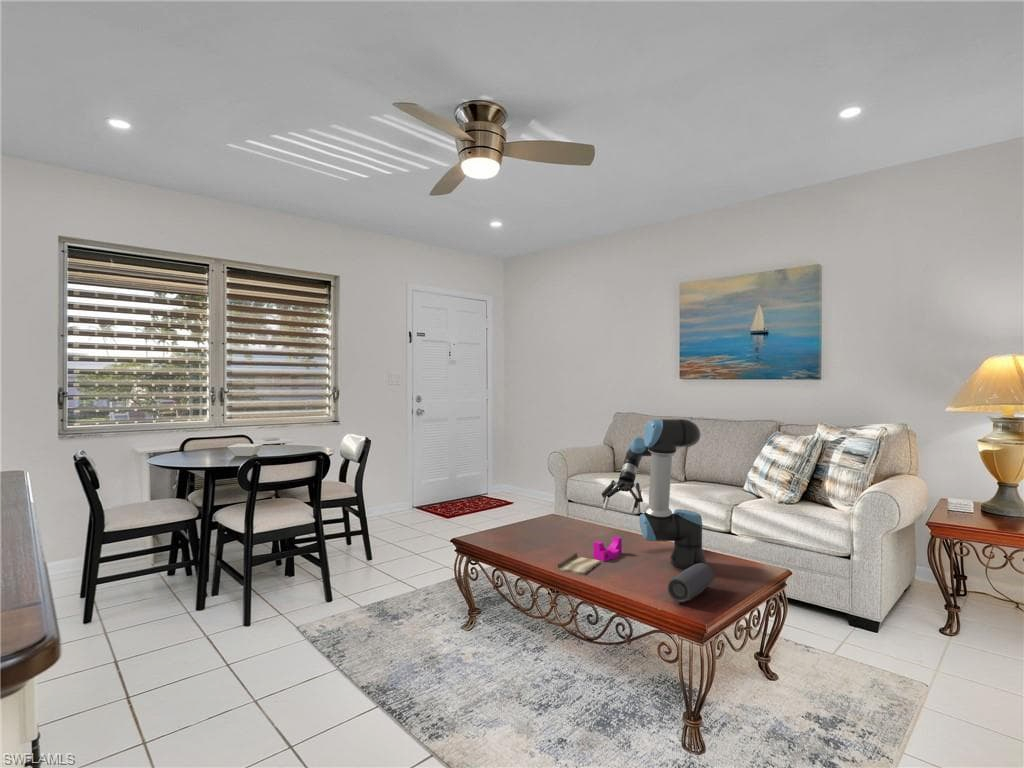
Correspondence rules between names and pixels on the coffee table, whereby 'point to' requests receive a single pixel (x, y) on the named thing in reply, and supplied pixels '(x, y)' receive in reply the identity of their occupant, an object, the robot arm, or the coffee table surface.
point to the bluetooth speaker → (690, 582)
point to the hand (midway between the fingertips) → (618, 511)
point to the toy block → (608, 553)
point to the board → (577, 564)
